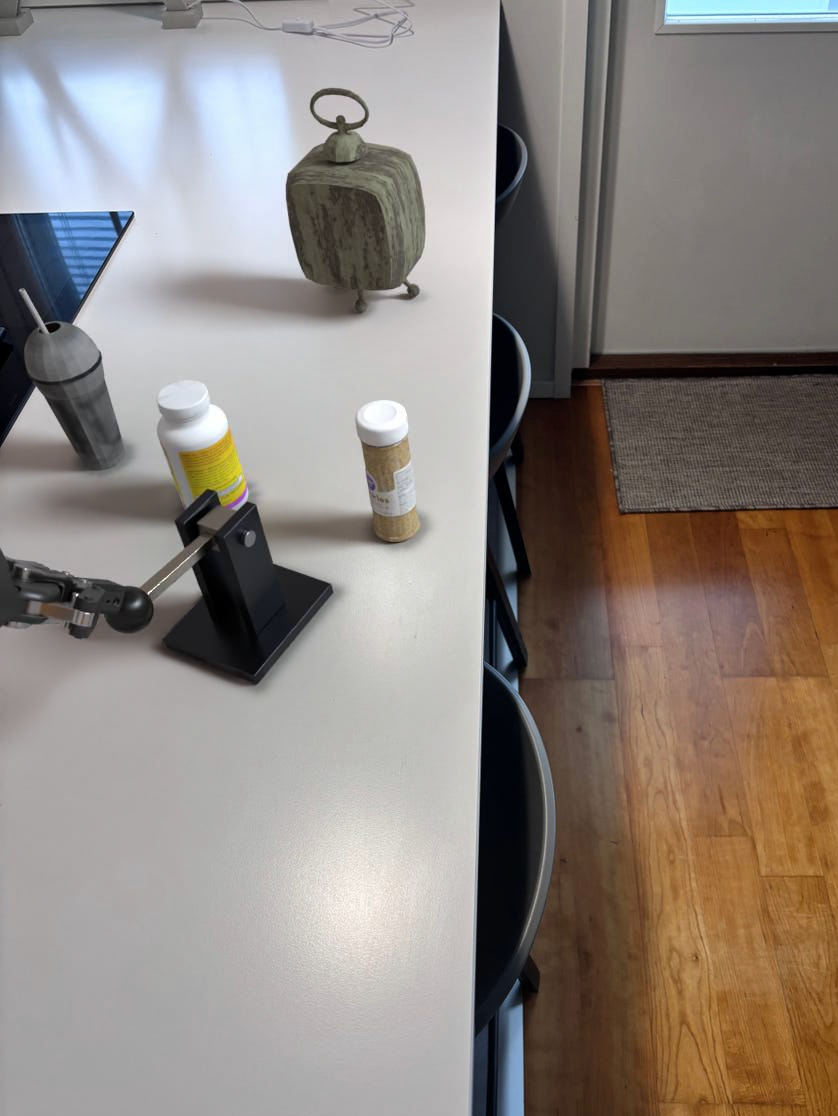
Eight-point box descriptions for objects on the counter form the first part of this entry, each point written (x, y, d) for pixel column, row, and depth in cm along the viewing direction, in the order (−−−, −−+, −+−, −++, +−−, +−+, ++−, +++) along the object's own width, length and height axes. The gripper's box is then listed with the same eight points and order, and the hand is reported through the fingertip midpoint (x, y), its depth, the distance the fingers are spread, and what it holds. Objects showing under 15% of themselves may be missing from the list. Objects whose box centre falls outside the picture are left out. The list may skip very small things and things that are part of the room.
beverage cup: (152, 444, 107) (87, 271, 92) (109, 485, 102) (33, 309, 87) (99, 430, 109) (27, 258, 94) (55, 469, 105) (-28, 296, 90)
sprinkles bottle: (364, 531, 96) (343, 416, 86) (397, 506, 98) (380, 391, 88) (398, 551, 93) (380, 435, 83) (431, 525, 96) (417, 410, 86)
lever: (136, 649, 73) (124, 614, 70) (100, 634, 74) (86, 599, 72) (252, 542, 82) (245, 507, 79) (218, 530, 83) (209, 495, 81)
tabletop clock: (432, 291, 125) (412, 77, 106) (408, 329, 120) (381, 110, 101) (329, 279, 129) (291, 70, 110) (300, 315, 123) (255, 101, 104)
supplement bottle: (263, 494, 100) (233, 386, 91) (217, 532, 97) (181, 424, 87) (216, 473, 103) (182, 366, 93) (170, 509, 99) (130, 401, 90)
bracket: (257, 685, 83) (219, 578, 74) (165, 648, 87) (117, 541, 77) (333, 592, 90) (308, 483, 81) (245, 561, 94) (211, 453, 84)
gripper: (-2, 552, 53) (200, 574, 69) (-165, 489, 57) (61, 523, 73) (-35, 684, 54) (172, 675, 70) (-193, 611, 58) (36, 618, 74)
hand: (115, 597), depth 72 cm, fingers closed
